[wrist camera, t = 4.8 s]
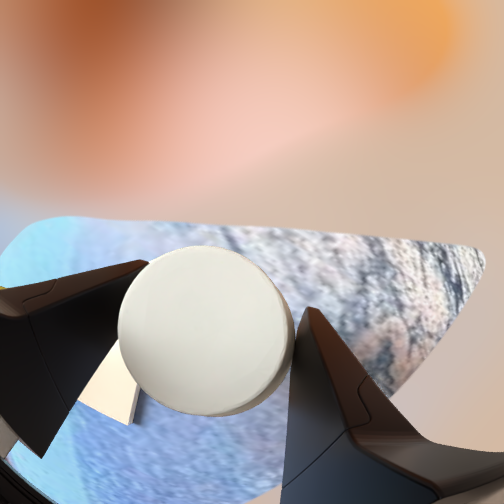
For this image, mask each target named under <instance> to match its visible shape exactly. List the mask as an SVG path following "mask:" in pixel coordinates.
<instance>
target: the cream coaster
mask: <svg viewBox="0 0 504 504" xmlns="http://www.w3.org/2000/svg"><path fill="white" fill-rule="evenodd" d="M139 391H140V386H139V385H138V384H137V383H136V382H135V380H134V379H133V378H132V376H131V374H130V372H129V371H128V369H127V367H126V365H125V363H124V360H123V358H122V355H121V351H120V346H119V340H117V341H116V343H115V344H114V346H113V347H112V348H111V350H110V351H109V353H108V354H107V356H106V357H105V359H104V360H103V361H102V363H101V364H100V366H99V367H98V369H97V370H96V372H95V373H94V375H93V376H92V378H91V379H90V381H89V382H88V384H87V385H86V387H85V388H84V390H83V392H82V393H81V395H80V396H79V398H78V399H77V400H79V401H81V402H82V403H84V404H86V405H88V406H90V407H91V408H93V409H95V410H97V411H99V412H101V413H103V414H105V415H107V416H109V417H111V418H113V419H115V420H117V421H119V422H121V423H123V424H126V425H130V424H131V423H133V418H134V413H135V409H136V404H137V400H138V396H139Z"/></svg>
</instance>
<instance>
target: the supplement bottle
mask: <svg viewBox="0 0 504 504" xmlns="http://www.w3.org/2000/svg"><path fill="white" fill-rule="evenodd" d="M118 340H119V346H120V351H121V355H122V358H123V360H124V363H125V365H126V367H127V369H128V371H129V372H130V374H131V376H132V378H133V379H134V380H135V382H136V383H137V384H138V385H139V386H140V387H141V388H142V389H143V390H144V391H145V392H146V393H147V394H148V395H149V396H150V397H151V398H153V399H154V400H156V401H157V402H159V403H160V404H162V405H164V406H166V407H168V408H170V409H173V410H176V411H178V412H181V413H185V414H191V415H200V416H207V417H223V416H230V415H235V414H239V413H242V412H244V411H247V410H249V409H251V408H253V407H255V406H257V405H259V404H260V403H262V402H263V401H264V400H266V399H267V398H268V397H269V396H270V395H271V394H272V393H273V392H274V391H275V390H276V389H277V388H278V387H279V385H280V384H281V383H282V381H283V380H284V378H285V376H286V374H287V372H288V370H289V368H290V366H291V363H292V358H293V354H294V349H295V328H294V322H293V318H292V315H291V312H290V309H289V307H288V304H287V302H286V300H285V299H284V297H283V296H282V294H281V293H280V291H279V290H278V288H277V287H276V286H275V285H274V283H273V282H272V281H271V279H270V278H269V277H268V276H267V275H266V274H265V273H264V271H263V270H262V269H261V268H259V267H258V266H257V265H256V264H254V263H253V262H252V261H250V260H249V259H247V258H246V257H244V256H242V255H240V254H238V253H236V252H233V251H230V250H227V249H224V248H220V247H214V246H190V247H184V248H180V249H177V250H174V251H171V252H169V253H166V254H164V255H162V256H160V257H159V258H157V259H155V260H154V261H152V262H151V263H150V264H149V265H147V266H146V267H145V268H144V269H143V270H142V271H141V272H140V273H139V274H138V276H137V277H136V278H135V279H134V281H133V282H132V284H131V285H130V287H129V289H128V291H127V292H126V294H125V297H124V299H123V302H122V305H121V308H120V312H119V319H118Z"/></svg>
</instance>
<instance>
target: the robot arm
mask: <svg viewBox="0 0 504 504" xmlns="http://www.w3.org/2000/svg"><path fill="white" fill-rule="evenodd" d="M149 264H150V262H147V261H144V260H135V261H130V262H126V263H122V264H117V265H113V266H108V267H104V268H100V269H95V270H91V271H87V272H82V273H78V274H74V275H69V276H65V277H61V278H58V279H52V280H48V281H44V282H39V283H35V284H29V285H24V286H18V287H13V288H7V289H1V290H0V504H58V503H56V502H55V501H54V500H52V499H51V498H49V497H48V496H47V495H45V494H44V493H43V492H41V491H40V490H39V489H38V488H36V487H35V486H34V485H33V484H31V483H30V482H29V481H28V480H27V479H25V478H24V477H23V476H22V475H21V474H20V473H18V472H17V471H16V470H15V469H14V468H13V467H12V466H11V465H10V464H9V463H8V462H7V461H6V460H5V458H6V456H7V455H8V453H9V452H10V451H11V449H12V448H13V446H14V445H15V444H16V442H17V441H18V440H19V441H20V442H21V443H22V444H24V445H25V446H26V447H27V448H28V449H30V450H31V451H32V452H33V453H34V454H36V455H37V456H38V457H39V458H41V459H42V458H43V456H44V455H45V453H46V451H47V449H48V448H49V446H50V444H51V442H52V441H53V439H54V437H55V435H56V434H57V432H58V430H59V429H60V427H61V425H62V424H63V422H64V420H65V419H66V417H67V416H68V414H69V411H70V410H71V409H72V407H73V406H74V404H75V402H76V401H77V399H78V398H79V396H80V395H81V393H82V392H83V390H84V388H85V387H86V385H87V384H88V382H89V381H90V379H91V378H92V376H93V375H94V373H95V372H96V370H97V369H98V367H99V366H100V364H101V363H102V361H103V360H104V359H105V357H106V356H107V354H108V353H109V351H110V350H111V348H112V347H113V346H114V344H115V343H116V341H117V340H118V319H119V312H120V308H121V305H122V302H123V299H124V297H125V294H126V292H127V291H128V289H129V287H130V285H131V284H132V282H133V281H134V279H135V278H136V277H137V276H138V274H139V273H140V272H141V271H142V270H143V269H144V268H145V267H146V266H147V265H149ZM280 504H504V452H485V451H477V450H470V449H464V448H457V447H452V446H446V445H441V444H437V443H434V442H431V441H429V440H427V439H426V438H424V437H423V436H422V435H421V434H420V433H418V431H417V430H416V429H415V428H414V427H413V426H412V425H411V424H410V423H409V421H408V420H407V419H406V418H405V417H404V416H403V415H402V414H401V413H400V412H399V411H398V409H397V408H396V407H395V406H394V405H393V404H392V403H391V402H390V400H389V399H388V398H387V397H386V396H385V395H384V393H383V392H382V391H381V390H380V388H379V387H378V386H377V385H376V383H375V382H374V381H373V379H372V378H371V377H370V375H368V373H367V371H366V370H365V369H364V367H363V366H362V365H361V363H360V362H359V361H358V360H357V358H356V357H355V356H354V354H353V353H352V352H351V350H350V349H349V348H348V346H347V345H346V344H345V342H344V341H343V340H342V338H341V337H340V336H339V335H338V333H337V332H336V331H335V329H334V328H333V327H332V325H331V324H330V323H329V322H328V320H327V319H326V318H325V316H324V315H323V314H322V312H321V311H320V310H319V309H317V308H313V307H306V309H305V311H304V313H303V316H302V319H301V321H300V324H299V327H298V330H297V335H296V341H295V349H294V354H293V358H292V364H291V372H290V389H289V407H288V422H287V436H286V449H285V460H284V471H283V481H282V490H281V499H280Z"/></svg>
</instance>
